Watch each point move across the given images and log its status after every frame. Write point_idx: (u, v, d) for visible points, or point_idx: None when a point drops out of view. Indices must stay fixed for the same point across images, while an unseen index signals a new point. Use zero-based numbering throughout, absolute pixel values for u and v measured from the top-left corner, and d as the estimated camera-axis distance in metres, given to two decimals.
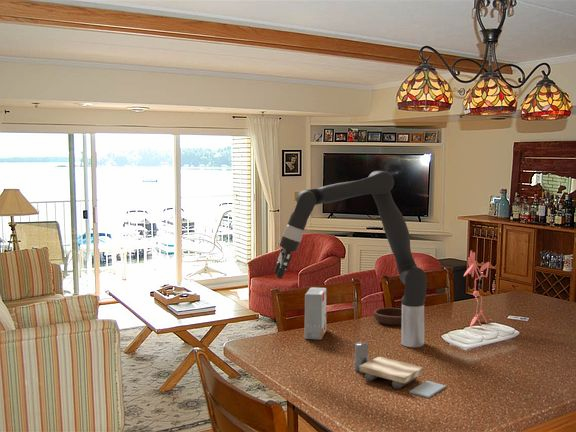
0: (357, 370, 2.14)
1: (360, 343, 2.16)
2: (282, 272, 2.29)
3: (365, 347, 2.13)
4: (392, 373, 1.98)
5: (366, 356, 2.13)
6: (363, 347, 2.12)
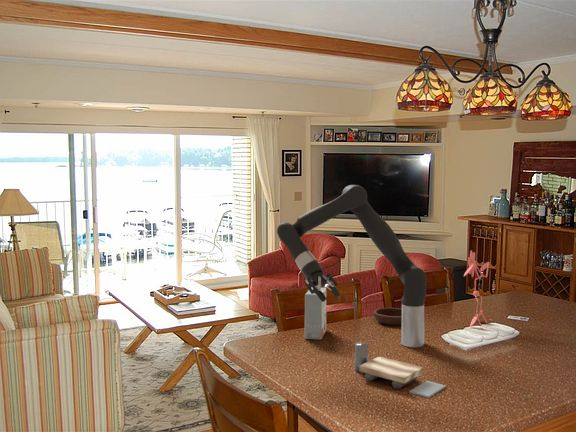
0: (357, 370, 2.14)
1: (360, 343, 2.16)
2: (319, 295, 2.19)
3: (365, 347, 2.13)
4: (392, 373, 1.98)
5: (366, 356, 2.13)
6: (363, 347, 2.12)
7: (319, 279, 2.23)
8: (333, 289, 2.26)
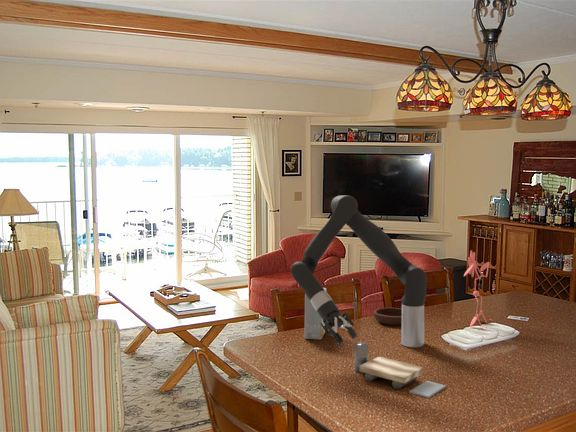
0: (357, 370, 2.14)
1: (360, 343, 2.16)
2: (336, 337, 2.16)
3: (365, 347, 2.13)
4: (392, 373, 1.98)
5: (366, 356, 2.13)
6: (363, 347, 2.12)
7: (335, 320, 2.20)
8: (349, 329, 2.23)
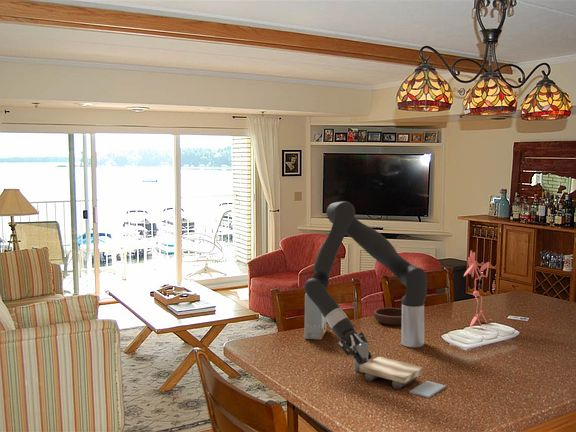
0: (357, 370, 2.14)
1: (360, 343, 2.16)
2: (356, 356, 2.12)
3: (365, 347, 2.13)
4: (392, 373, 1.98)
5: (366, 356, 2.13)
6: (363, 347, 2.12)
7: (352, 339, 2.15)
8: None
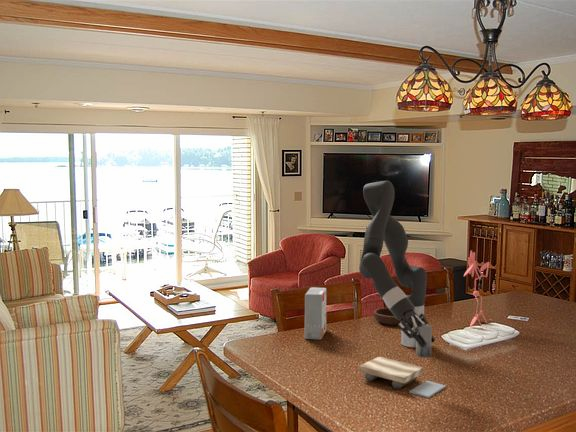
0: (419, 354, 1.95)
1: (422, 324, 1.97)
2: (418, 339, 1.93)
3: (429, 329, 1.93)
4: (392, 373, 1.98)
5: (429, 339, 1.94)
6: (426, 329, 1.93)
7: (413, 320, 1.96)
8: None
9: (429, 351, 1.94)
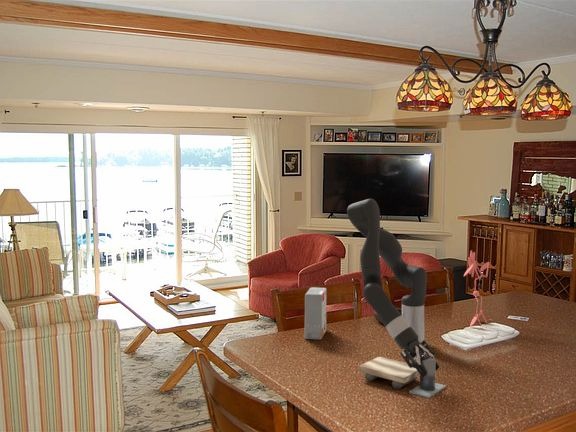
0: (423, 388, 1.95)
1: (425, 358, 1.97)
2: (419, 369, 1.92)
3: (433, 362, 1.94)
4: (392, 373, 1.98)
5: (433, 373, 1.94)
6: (430, 363, 1.93)
7: (417, 350, 1.96)
8: None
9: (433, 384, 1.95)
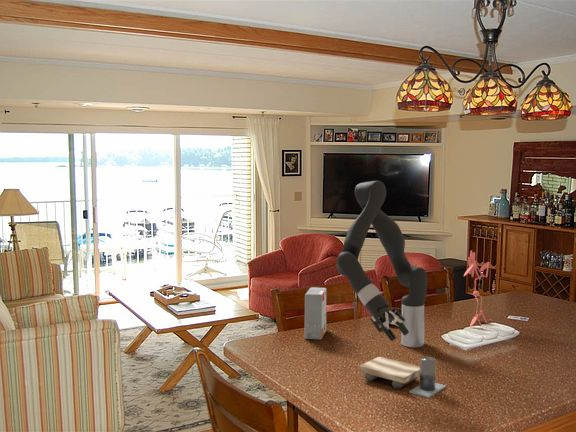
0: (423, 388, 1.95)
1: (425, 357, 1.97)
2: (388, 333, 1.99)
3: (433, 362, 1.94)
4: (392, 373, 1.98)
5: (433, 372, 1.94)
6: (430, 362, 1.94)
7: (386, 315, 2.03)
8: (401, 325, 2.06)
9: (433, 384, 1.95)
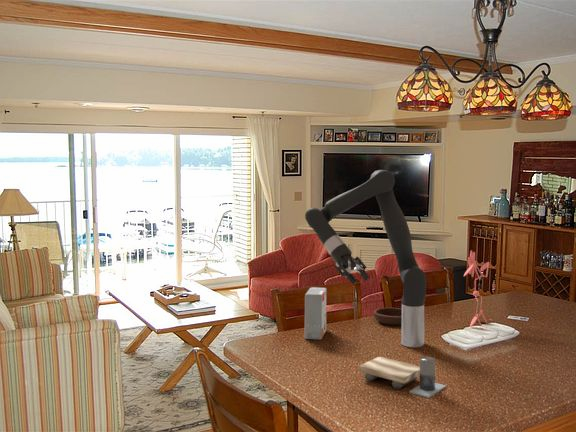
0: (423, 388, 1.95)
1: (425, 358, 1.97)
2: (350, 277, 2.23)
3: (432, 362, 1.94)
4: (392, 373, 1.98)
5: (433, 372, 1.94)
6: (429, 363, 1.93)
7: (349, 262, 2.27)
8: (362, 272, 2.30)
9: (433, 384, 1.95)
